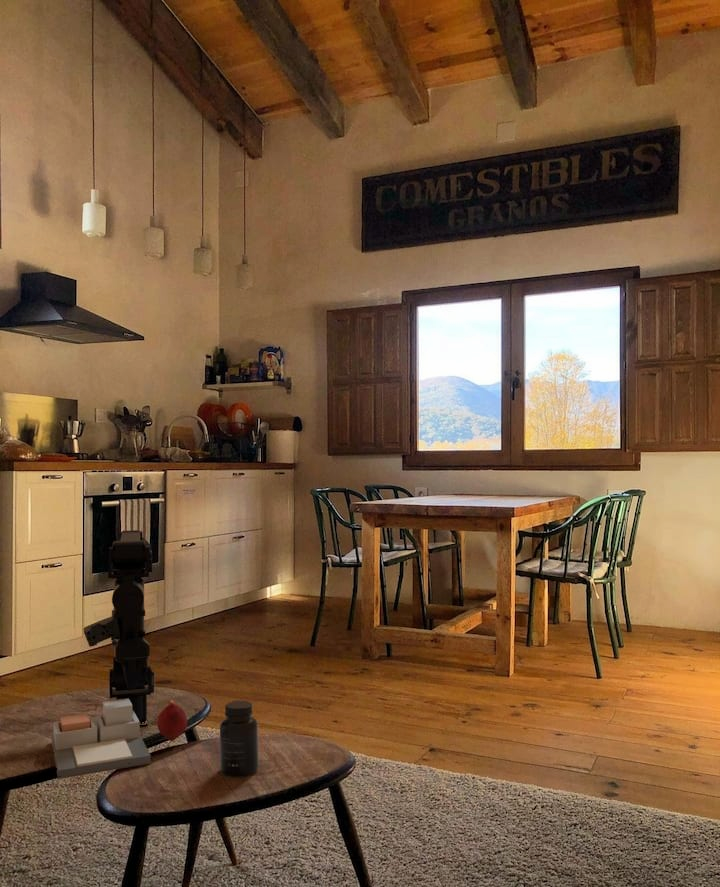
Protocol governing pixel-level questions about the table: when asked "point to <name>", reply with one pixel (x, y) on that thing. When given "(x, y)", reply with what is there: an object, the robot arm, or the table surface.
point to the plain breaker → (117, 711)
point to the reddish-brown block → (74, 722)
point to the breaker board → (98, 748)
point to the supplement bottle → (238, 740)
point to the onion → (172, 721)
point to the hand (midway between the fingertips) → (129, 683)
